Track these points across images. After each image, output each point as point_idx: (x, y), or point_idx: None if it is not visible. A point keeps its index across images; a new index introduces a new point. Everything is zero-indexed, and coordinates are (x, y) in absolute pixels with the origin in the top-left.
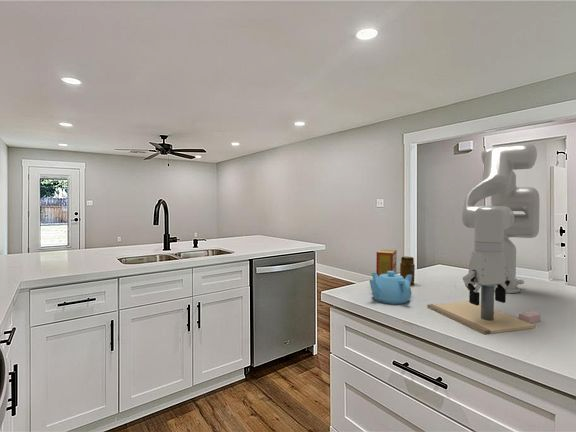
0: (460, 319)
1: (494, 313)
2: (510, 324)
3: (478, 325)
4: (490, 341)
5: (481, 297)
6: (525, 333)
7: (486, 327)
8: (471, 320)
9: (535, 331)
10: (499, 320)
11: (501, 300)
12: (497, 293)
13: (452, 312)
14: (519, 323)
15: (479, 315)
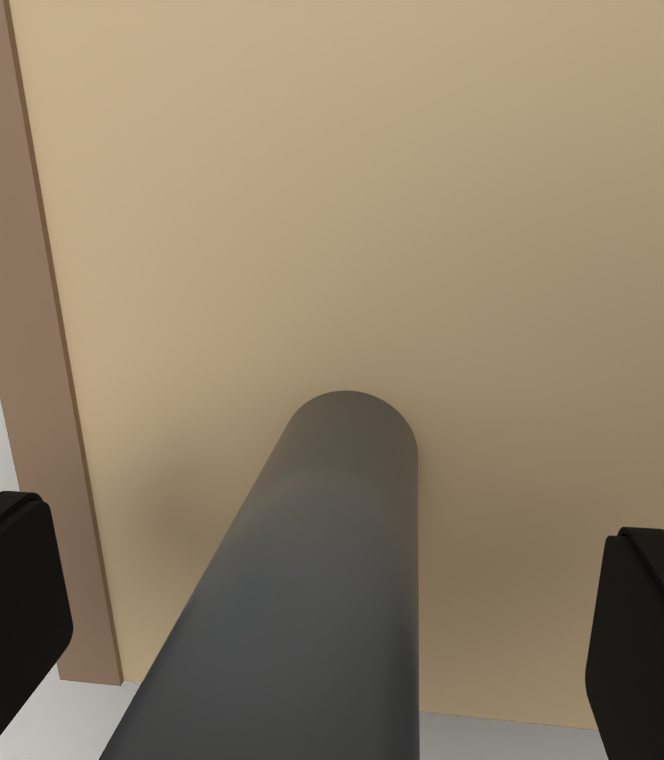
0: (8, 410)
1: (627, 335)
2: (443, 647)
3: (89, 584)
4: (40, 739)
5: (187, 604)
6: (435, 746)
7: (144, 623)
8: (125, 449)
9: (571, 752)
10: (436, 540)
11: (599, 678)
12: (661, 706)
13: (69, 141)
14: (566, 661)
15: (345, 344)
